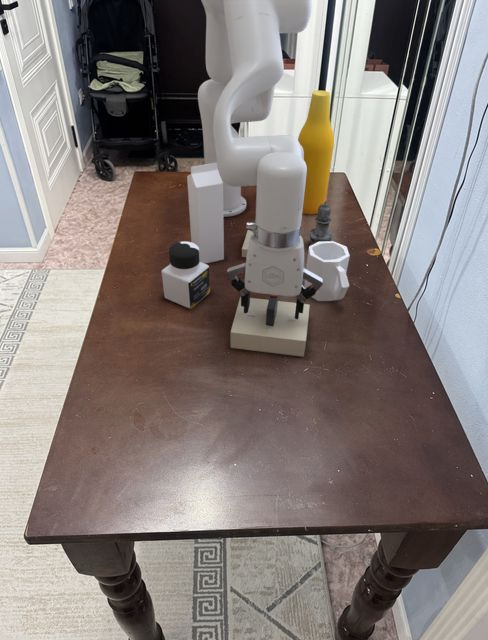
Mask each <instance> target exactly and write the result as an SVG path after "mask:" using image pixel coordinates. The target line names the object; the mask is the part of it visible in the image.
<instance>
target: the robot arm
mask: <svg viewBox="0 0 488 640" xmlns="http://www.w3.org/2000/svg"><path fill="white" fill-rule="evenodd" d="M200 1H201V3H202V6H203V8H204V12H205V16H206V17H205V18H206V19H205V20H206V21H205V22H206V23H205V24H206V26H205V27H206V28H205V68H206V72H207V75H208V77H209V78H210V79H207V80H205V81H204V82H203V83H201V84H200V85H199V88H198V92H197V102H198V109H199V113H200V120H201V127H202V137H203V161H204V164H203V165H205V164H211V163H217V166H218V171H219V174H220V177H221V179H222V182H223V218H227V217H229V218H230V217H234V216H238V215H240V214H241V213H244V212H245V210H246V209H247V200H246V198H244V197H243V196H242V188H243V187H253V186H255V187H256V195H255V196H256V198H255V199H256V200H255V219H254V220H253V221H247V222H246V227H245V229H246V231H248V230H251V231H253V234H252V236H251V238H250V241H249V245H248V250H247V257H245V258H246V259H245V262H242V263H240V264H237V265H234V266H231V267H228V268H227V270H226V273H225V274H226V277H227V279H228V280H229V282H230V284H231V286H232V287H233V288H234V289H235V290H236V291H237V292H238V295H239V296H240V297H241V306H242V307H244V313H248V310H249V305H250V298H251V293H254V294H255V293H256V294H262V295H263V294H264V295H270V294H271V295H278V296H281V297H296V302H295V303H296V311H295V318H296V319H298V318H299V313H303V308H304V304H306V302H307V300H308V299H310V298H312V296H313V295H315V293H316V291H318V290H319V288H320V287H321V286H322V285H323V279H322V278H321V277H319V276H317V275H315V274H314V273H312V272H310V271H308V270H307V269H306V268H305V243H304V239H303V237H302V235H301V229H302V221H303V220H302V219H303V214H302V211H303V202H304V193H305V184H306V175H307V166H306V163H305V161H304V152H303V148H302V146H301V145H300V143H299V141H298V138H297V137H295V136H294V135H290V134H279V135H256V136H240V134H239V133H238V131H237V130H236V129H235V128H234V127H233V125H232V124H237V123H252V122H253V123H254V122H262V121H265V120H266V119H268V117H269V115H270V113H271V111H272V106H273V100H274V95H275V88H276V85H277V83H279V82H280V80H281V79H282V77H283V75H284V70H285V65H284V58H283V52H282V43H281V35H280V34H297V33H302V32H303V31H305V30H306V28H307V27H308V25H309V23H310V20H311V16H312V10H313V9H312V8H313V2H312V0H200ZM241 274H244V281H243V280H242V279H241V278H240V277H239V276H240V275H241ZM238 275H239V276H238ZM305 280H307V281H309V282H310V283H312V285H310V286H309V287H307V288H306V289H305V287H304V284H303V281H305Z"/></svg>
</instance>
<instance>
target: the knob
mask: <svg viewBox="0 0 488 640" xmlns="http://www.w3.org/2000/svg"><path fill="white" fill-rule="evenodd" d="M268 300H269V302H268V306H267V313H266V325H268V326H274V322H275V318H276V313H277V306H278V301H279V295H271V294H269V299H268Z"/></svg>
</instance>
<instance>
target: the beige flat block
mask: <svg viewBox="0 0 488 640" xmlns="http://www.w3.org/2000/svg"><path fill="white" fill-rule="evenodd" d="M268 302H269V299H263V298H255V297H250V305H249V310H248V313H244V307H242V306H241V296H240V297H239V300H238V304H237V308H236V311H235V315H234V318H233V321H232V326H231V329H230V349H238V350H246V351H253V352H261V353H271V354H279V355H287V356H294V357H301V358H302V357H305V353H306V352H305V351H306V344H307V335H308V327H309V325H308V324H309V317H310V306H311V305H310V304H309V303H308V304H307V303H304V308H303V313H299V318H298V319H296V318H295V311H296V302H292V301H280V300H278V306H277V313H276V318H275V322H274V326H268V325H266V313H267V306H268Z"/></svg>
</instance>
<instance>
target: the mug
mask: <svg viewBox="0 0 488 640" xmlns="http://www.w3.org/2000/svg"><path fill="white" fill-rule="evenodd" d="M350 255H351V254H350V252H349V250H348V246H346V245H344V244H341V243H338V242H336V241H334V240H333V241H332V240H331V241H325V242H317V243H315V244H313V245H311V246H310V247H309V246H308V251H307V259H306V268H305V269H307V270H308V271H310V272H312V273H314V274H315V275H317V276H319V277H321V278H322V279H323V285H322V286H321V287H320V288H319V290H318V291H316V293H315V295H313V296H312V297H311V298H312V299H314V300H316V301H317V302H333V301H339V300H340V301H341V300H343V299H344V298H345V297H346V294H347V292H348V289H349V288H350V282H349V279H348V274H347V272H348V267H349V261H350ZM310 285H312V283H310V282H309V281H307V280H305V279H304V284H303V286H304V287H305V289H306V288H307V287H309V286H310Z"/></svg>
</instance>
